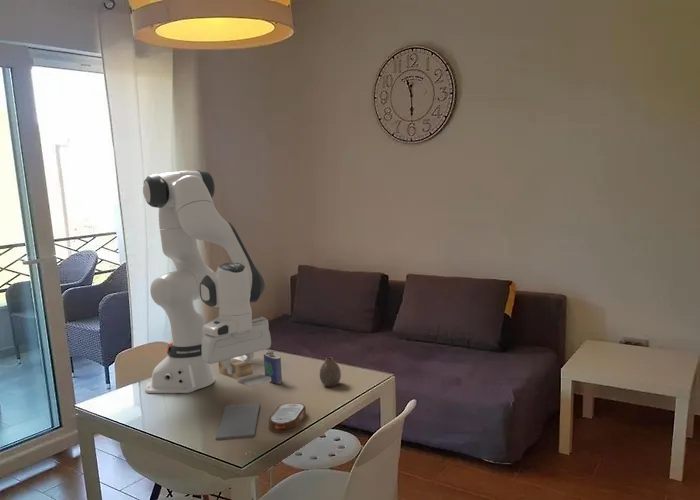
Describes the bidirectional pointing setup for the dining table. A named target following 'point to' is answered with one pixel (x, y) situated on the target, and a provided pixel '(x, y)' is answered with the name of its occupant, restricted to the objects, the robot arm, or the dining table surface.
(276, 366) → the flask
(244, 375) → the turner
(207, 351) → the robot arm
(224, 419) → the mat
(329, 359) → the vase
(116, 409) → the dining table surface
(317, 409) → the dining table surface
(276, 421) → the tin
